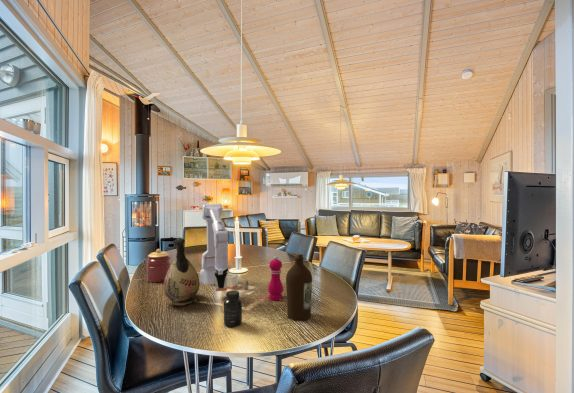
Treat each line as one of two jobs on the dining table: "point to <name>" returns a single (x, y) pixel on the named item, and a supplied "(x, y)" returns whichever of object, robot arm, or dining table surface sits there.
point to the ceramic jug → (181, 278)
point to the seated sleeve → (232, 281)
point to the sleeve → (224, 286)
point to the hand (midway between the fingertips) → (221, 286)
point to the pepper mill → (275, 280)
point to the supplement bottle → (232, 309)
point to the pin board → (240, 287)
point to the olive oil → (299, 290)
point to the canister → (157, 266)
